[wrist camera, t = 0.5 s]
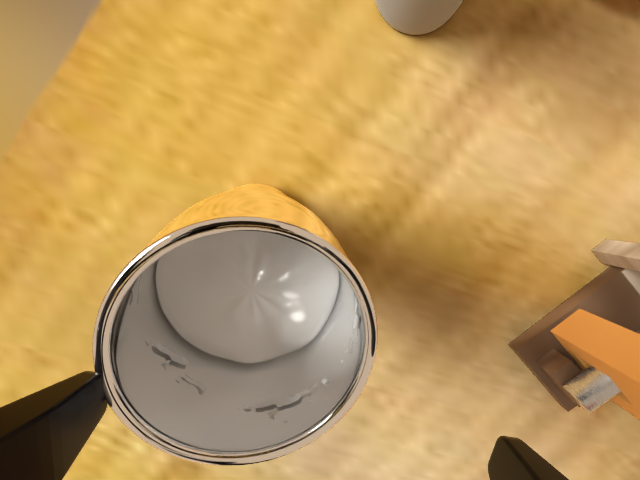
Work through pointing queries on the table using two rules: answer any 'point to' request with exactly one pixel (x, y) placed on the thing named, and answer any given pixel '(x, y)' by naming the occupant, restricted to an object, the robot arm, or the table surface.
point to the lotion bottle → (417, 14)
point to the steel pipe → (592, 388)
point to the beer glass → (236, 331)
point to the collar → (605, 353)
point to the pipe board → (596, 298)
